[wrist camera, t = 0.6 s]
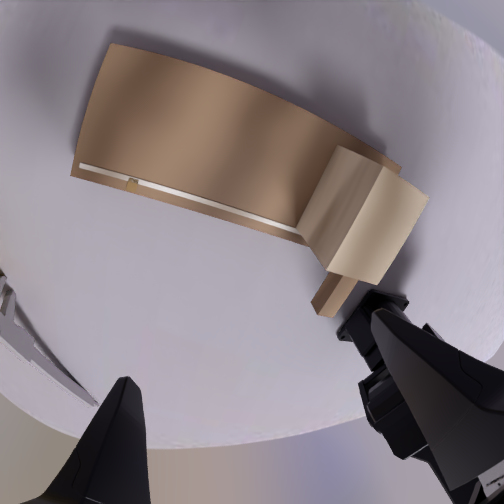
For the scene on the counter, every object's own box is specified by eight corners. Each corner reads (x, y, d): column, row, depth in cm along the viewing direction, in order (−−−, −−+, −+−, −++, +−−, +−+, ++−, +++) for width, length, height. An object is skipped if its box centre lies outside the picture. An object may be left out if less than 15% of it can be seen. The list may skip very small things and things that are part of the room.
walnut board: (386, 160, 20) (402, 167, 18) (339, 247, 23) (350, 261, 21) (119, 48, 13) (110, 42, 11) (81, 167, 16) (70, 176, 14)
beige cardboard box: (382, 170, 18) (429, 197, 14) (322, 277, 21) (350, 322, 17) (337, 144, 16) (383, 166, 12) (276, 265, 20) (298, 313, 16)
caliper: (-2, 273, 18) (-33, 319, 13) (5, 271, 18) (-26, 318, 13) (93, 403, 29) (88, 445, 24) (100, 402, 29) (95, 445, 24)
